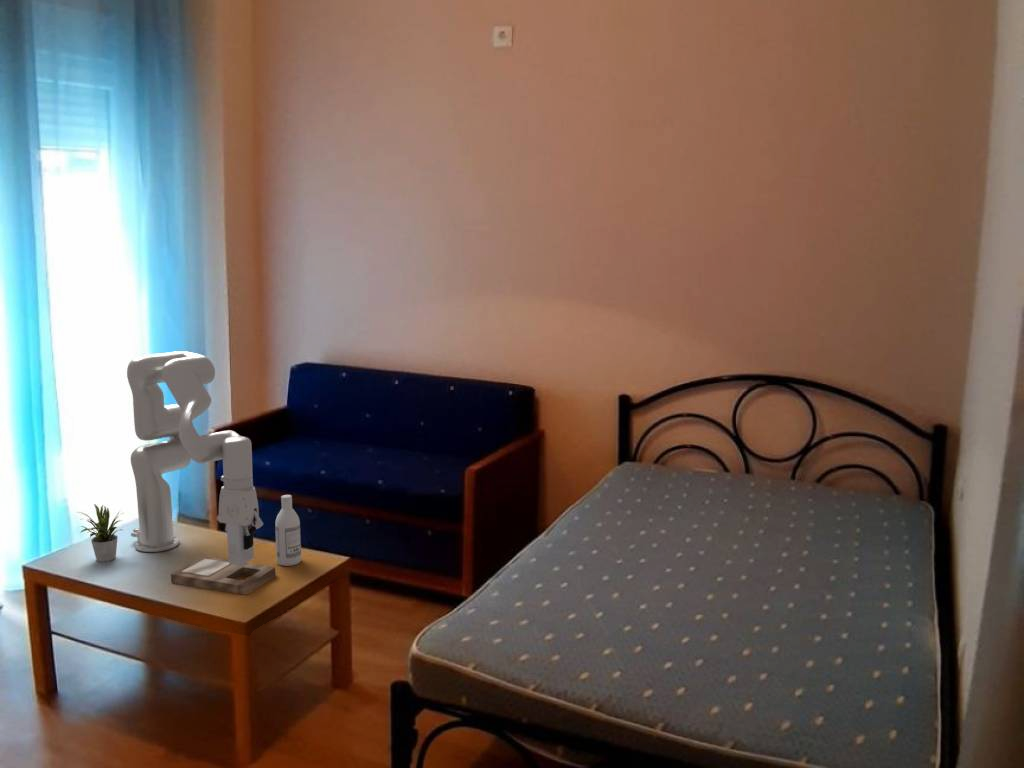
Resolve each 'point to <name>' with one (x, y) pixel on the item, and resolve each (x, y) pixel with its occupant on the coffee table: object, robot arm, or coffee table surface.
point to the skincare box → (238, 545)
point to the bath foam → (288, 534)
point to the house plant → (103, 535)
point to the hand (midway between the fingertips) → (240, 545)
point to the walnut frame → (223, 575)
